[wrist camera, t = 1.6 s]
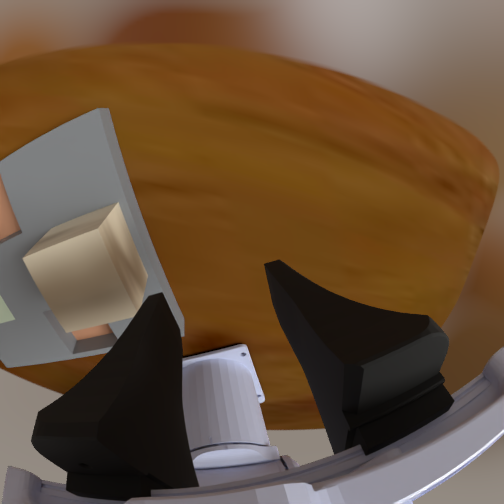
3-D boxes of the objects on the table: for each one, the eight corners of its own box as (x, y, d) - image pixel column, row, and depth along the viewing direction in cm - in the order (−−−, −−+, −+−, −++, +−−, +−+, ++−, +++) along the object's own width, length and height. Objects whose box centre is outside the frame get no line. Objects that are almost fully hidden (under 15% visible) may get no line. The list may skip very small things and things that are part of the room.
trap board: (184, 318, 22) (184, 336, 20) (13, 354, 20) (7, 367, 19) (108, 108, 14) (98, 107, 12) (-63, 215, 13) (-76, 224, 11)
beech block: (147, 275, 17) (139, 315, 14) (83, 293, 17) (66, 332, 13) (118, 201, 15) (97, 228, 11) (51, 228, 15) (22, 258, 11)
